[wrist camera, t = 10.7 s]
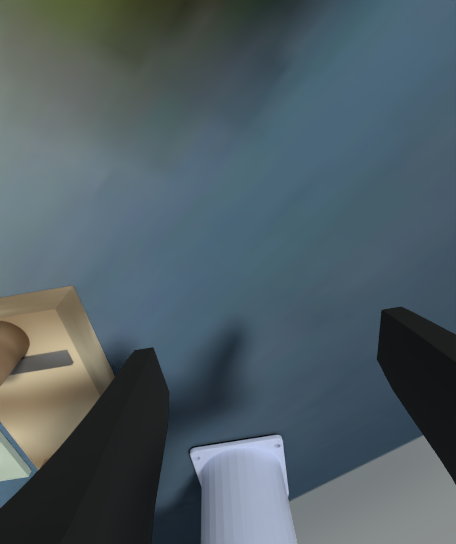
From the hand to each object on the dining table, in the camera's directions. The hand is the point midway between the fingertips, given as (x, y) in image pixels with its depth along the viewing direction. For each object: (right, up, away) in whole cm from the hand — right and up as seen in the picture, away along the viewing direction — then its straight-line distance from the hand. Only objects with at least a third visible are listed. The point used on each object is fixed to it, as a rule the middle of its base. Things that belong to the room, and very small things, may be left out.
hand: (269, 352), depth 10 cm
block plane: (-13, -5, +12) cm, 19 cm away
